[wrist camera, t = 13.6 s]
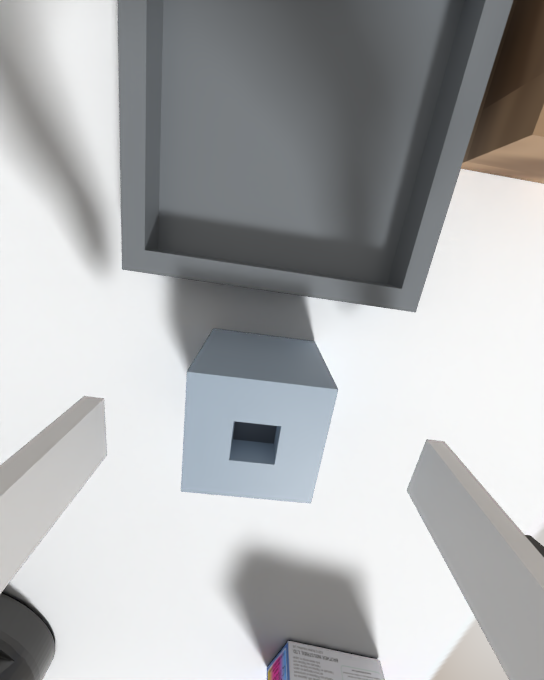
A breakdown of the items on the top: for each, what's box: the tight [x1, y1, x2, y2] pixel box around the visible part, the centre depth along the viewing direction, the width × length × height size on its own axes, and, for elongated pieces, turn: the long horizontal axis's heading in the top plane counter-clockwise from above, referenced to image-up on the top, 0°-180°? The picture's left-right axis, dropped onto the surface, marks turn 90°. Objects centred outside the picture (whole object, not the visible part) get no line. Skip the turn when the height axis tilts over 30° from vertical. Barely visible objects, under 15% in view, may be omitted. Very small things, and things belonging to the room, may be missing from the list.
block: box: [181, 329, 338, 503], centre depth 15 cm, size 6×6×6 cm
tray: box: [118, 0, 513, 312], centre depth 13 cm, size 14×14×2 cm
